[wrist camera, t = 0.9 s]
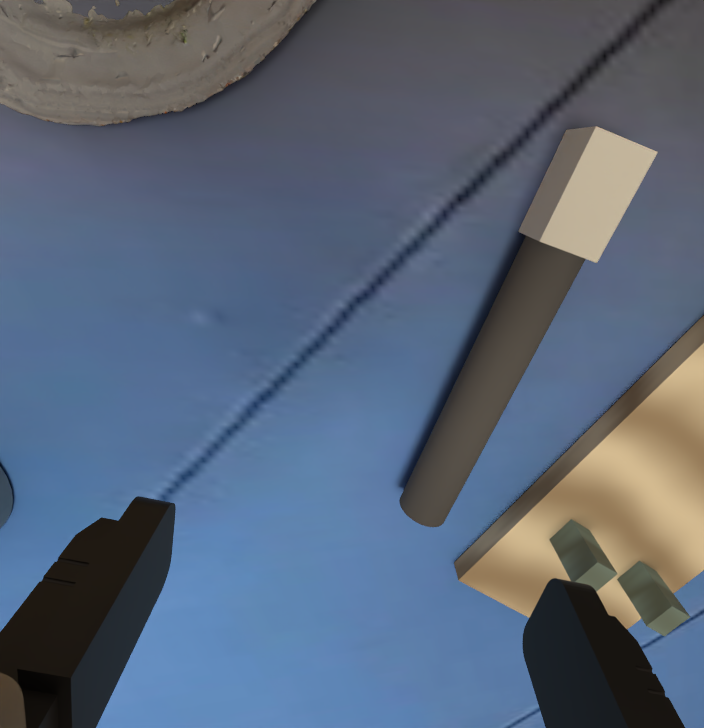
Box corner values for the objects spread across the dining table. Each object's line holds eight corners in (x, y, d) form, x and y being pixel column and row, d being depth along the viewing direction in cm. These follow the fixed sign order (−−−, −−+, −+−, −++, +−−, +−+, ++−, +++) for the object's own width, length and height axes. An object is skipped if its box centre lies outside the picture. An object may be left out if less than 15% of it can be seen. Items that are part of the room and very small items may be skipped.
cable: (440, 499, 32) (448, 532, 29) (397, 487, 31) (402, 519, 28) (621, 152, 23) (657, 152, 21) (566, 129, 23) (596, 126, 20)
